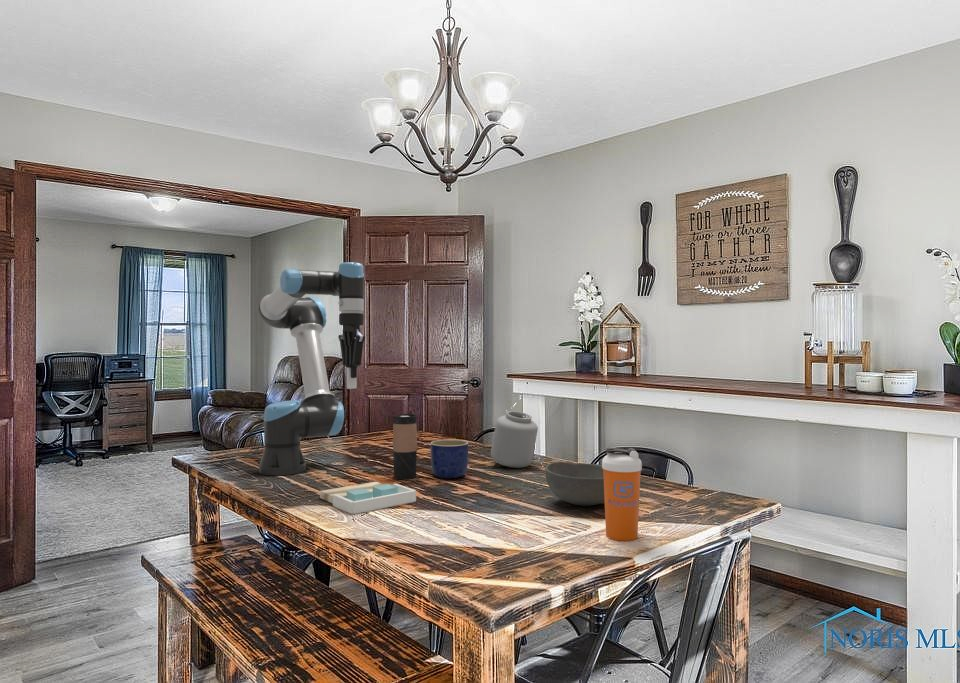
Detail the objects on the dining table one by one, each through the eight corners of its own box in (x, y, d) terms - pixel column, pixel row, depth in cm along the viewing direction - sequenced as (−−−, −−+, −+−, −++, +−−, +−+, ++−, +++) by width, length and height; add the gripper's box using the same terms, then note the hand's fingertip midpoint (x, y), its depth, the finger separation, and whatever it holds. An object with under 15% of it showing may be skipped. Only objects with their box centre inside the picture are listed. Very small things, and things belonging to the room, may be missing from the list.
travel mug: (412, 480, 203) (412, 417, 203) (389, 478, 204) (389, 416, 204) (419, 474, 210) (419, 414, 210) (397, 473, 212) (397, 413, 212)
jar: (550, 466, 224) (550, 394, 223) (526, 473, 212) (526, 398, 212) (506, 459, 235) (506, 391, 235) (482, 466, 224) (482, 394, 224)
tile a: (372, 497, 179) (372, 486, 179) (388, 494, 182) (388, 484, 182) (382, 501, 175) (382, 490, 175) (397, 498, 178) (397, 487, 178)
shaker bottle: (597, 530, 151) (597, 446, 150) (634, 529, 151) (634, 445, 151) (608, 543, 142) (608, 453, 142) (647, 541, 143) (647, 452, 142)
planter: (423, 478, 205) (423, 444, 205) (440, 470, 217) (440, 438, 217) (459, 481, 201) (459, 446, 201) (474, 473, 212) (474, 440, 212)
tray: (332, 505, 173) (332, 494, 173) (396, 493, 186) (395, 483, 185) (352, 514, 164) (352, 502, 164) (417, 501, 177) (417, 490, 177)
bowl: (574, 518, 160) (574, 479, 160) (531, 500, 178) (531, 464, 178) (636, 508, 170) (636, 471, 170) (589, 491, 188) (589, 457, 188)
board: (320, 497, 181) (320, 490, 181) (375, 488, 192) (375, 481, 192) (336, 505, 173) (336, 497, 173) (393, 494, 185) (393, 487, 185)
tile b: (346, 502, 174) (346, 491, 174) (362, 499, 177) (362, 488, 177) (355, 506, 170) (355, 494, 170) (372, 502, 173) (372, 491, 173)
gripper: (330, 312, 202) (331, 387, 202) (350, 311, 191) (350, 390, 192) (352, 313, 206) (352, 386, 207) (372, 312, 196) (372, 389, 197)
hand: (351, 388), depth 199 cm, fingers closed
